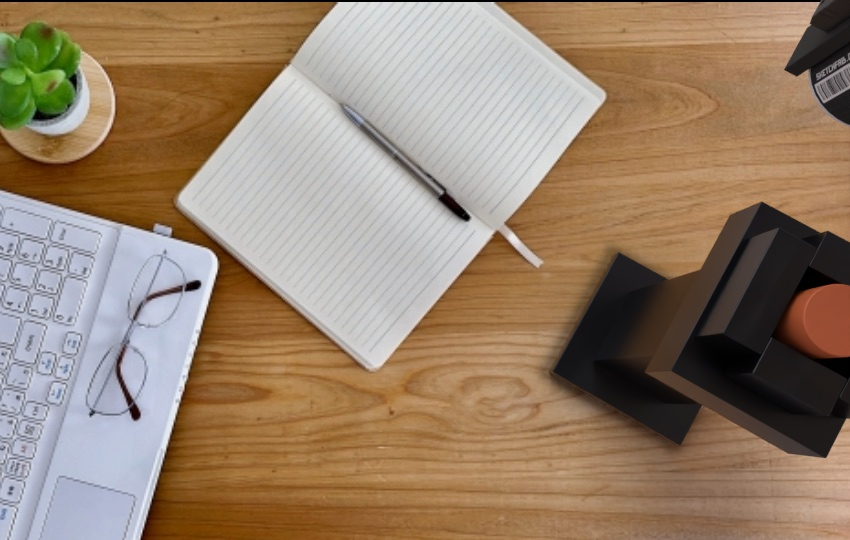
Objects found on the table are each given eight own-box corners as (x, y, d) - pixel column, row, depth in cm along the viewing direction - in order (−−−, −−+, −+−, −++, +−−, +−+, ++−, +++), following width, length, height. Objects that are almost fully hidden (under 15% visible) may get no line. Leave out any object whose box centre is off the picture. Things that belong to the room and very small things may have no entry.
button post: (674, 444, 73) (882, 473, 47) (548, 372, 74) (680, 359, 48) (739, 323, 74) (977, 284, 48) (613, 253, 75) (777, 178, 49)
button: (822, 372, 50) (860, 370, 46) (758, 337, 50) (791, 332, 47) (853, 313, 50) (892, 307, 47) (789, 278, 50) (823, 270, 47)
